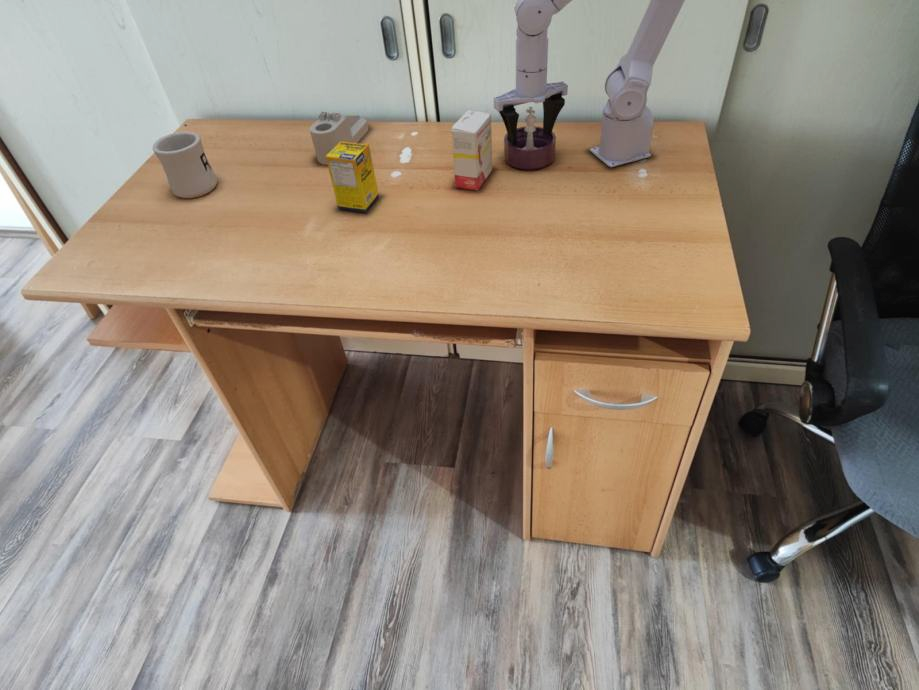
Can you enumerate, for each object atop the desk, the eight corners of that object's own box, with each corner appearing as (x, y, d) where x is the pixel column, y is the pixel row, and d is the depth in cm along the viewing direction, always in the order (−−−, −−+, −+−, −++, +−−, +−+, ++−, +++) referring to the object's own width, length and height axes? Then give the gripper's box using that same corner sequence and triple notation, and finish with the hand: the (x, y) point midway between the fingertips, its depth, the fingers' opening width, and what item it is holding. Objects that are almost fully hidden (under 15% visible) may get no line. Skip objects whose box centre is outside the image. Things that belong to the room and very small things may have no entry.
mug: (221, 192, 117) (202, 145, 110) (174, 204, 115) (152, 157, 108) (214, 165, 125) (196, 120, 118) (170, 176, 123) (149, 131, 116)
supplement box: (379, 196, 112) (369, 143, 105) (366, 213, 108) (355, 159, 101) (351, 193, 114) (340, 140, 106) (337, 209, 110) (324, 156, 102)
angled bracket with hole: (371, 126, 134) (364, 91, 128) (337, 165, 122) (328, 129, 116) (348, 125, 135) (341, 90, 129) (313, 163, 123) (303, 127, 118)
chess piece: (535, 164, 116) (536, 114, 109) (513, 158, 118) (513, 110, 111) (545, 153, 119) (548, 104, 112) (524, 148, 121) (525, 100, 114)
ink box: (477, 191, 111) (475, 132, 103) (454, 187, 113) (449, 129, 104) (493, 169, 117) (492, 111, 108) (470, 166, 118) (467, 108, 110)
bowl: (540, 142, 123) (541, 121, 120) (563, 163, 117) (565, 142, 113) (496, 153, 121) (495, 133, 118) (517, 176, 114) (517, 154, 111)
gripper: (504, 82, 102) (505, 155, 111) (577, 65, 105) (572, 137, 115) (488, 69, 106) (490, 139, 116) (559, 53, 110) (555, 123, 119)
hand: (530, 137), depth 116 cm, fingers open, 7 cm apart
